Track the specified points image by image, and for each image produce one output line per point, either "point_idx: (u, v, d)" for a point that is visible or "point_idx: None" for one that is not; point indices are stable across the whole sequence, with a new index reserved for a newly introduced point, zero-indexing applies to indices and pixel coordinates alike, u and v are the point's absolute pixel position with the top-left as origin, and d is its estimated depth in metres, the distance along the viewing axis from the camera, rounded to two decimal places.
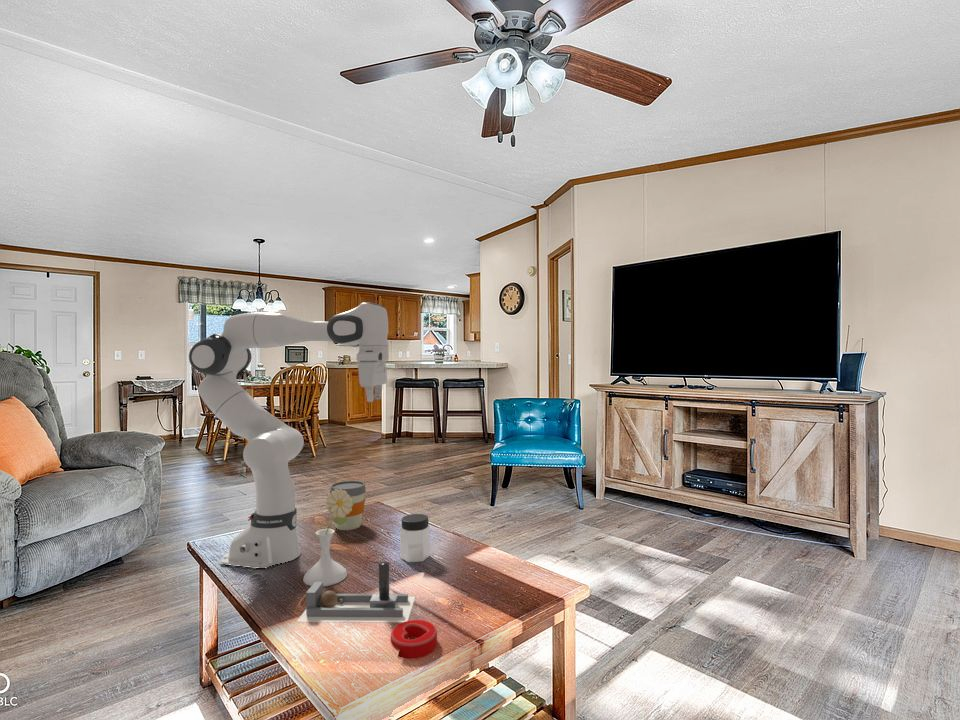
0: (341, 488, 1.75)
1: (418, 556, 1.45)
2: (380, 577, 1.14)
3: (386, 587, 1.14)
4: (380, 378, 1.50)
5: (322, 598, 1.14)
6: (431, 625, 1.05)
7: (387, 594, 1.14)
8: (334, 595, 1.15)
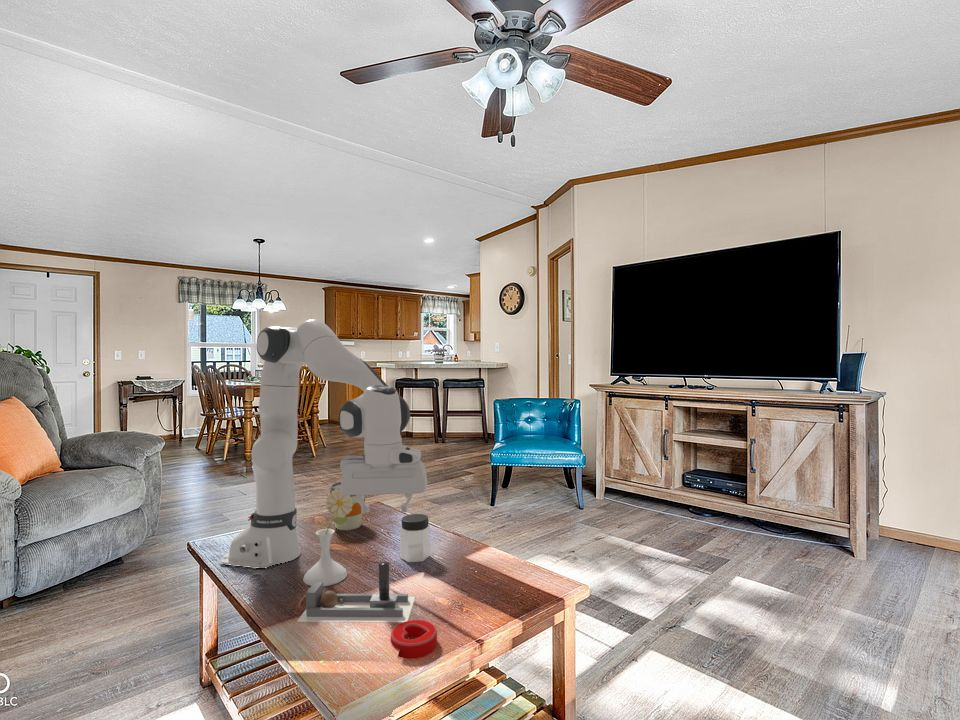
0: None
1: (418, 556, 1.45)
2: (380, 577, 1.14)
3: (386, 587, 1.14)
4: None
5: (322, 598, 1.14)
6: (431, 625, 1.05)
7: (387, 594, 1.14)
8: (334, 595, 1.15)
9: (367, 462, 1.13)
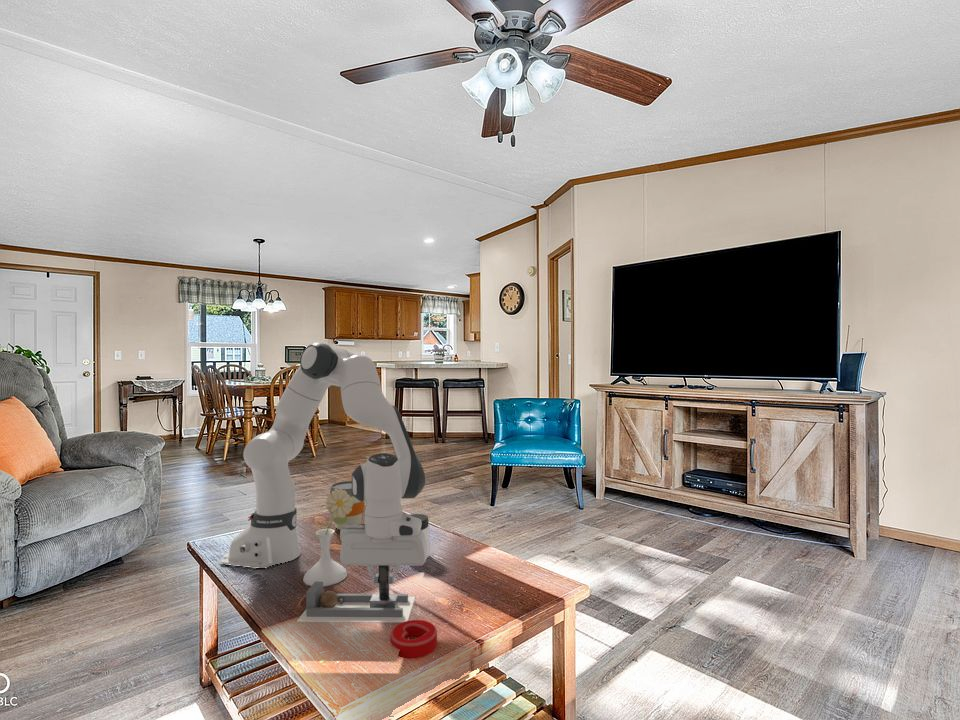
0: (341, 488, 1.75)
1: None
2: (380, 577, 1.14)
3: (385, 587, 1.14)
4: None
5: (322, 598, 1.14)
6: (431, 625, 1.05)
7: (387, 594, 1.14)
8: (334, 595, 1.15)
9: (367, 534, 1.12)
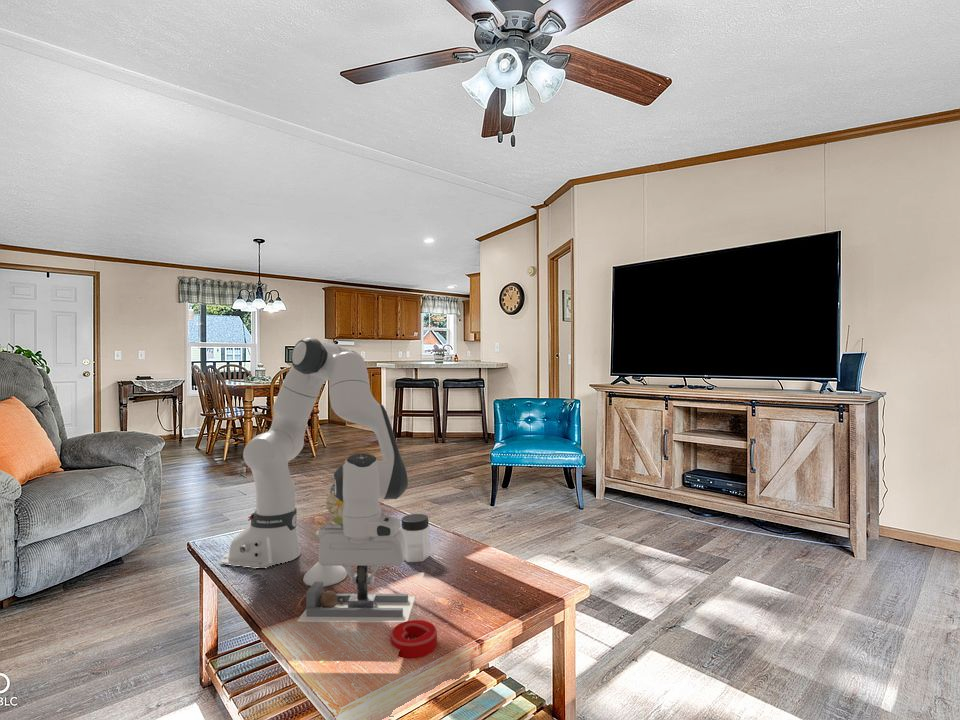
0: None
1: (418, 556, 1.45)
2: (358, 577, 1.14)
3: (364, 587, 1.14)
4: None
5: (322, 598, 1.14)
6: (431, 625, 1.05)
7: (365, 594, 1.15)
8: (334, 595, 1.15)
9: (345, 534, 1.12)
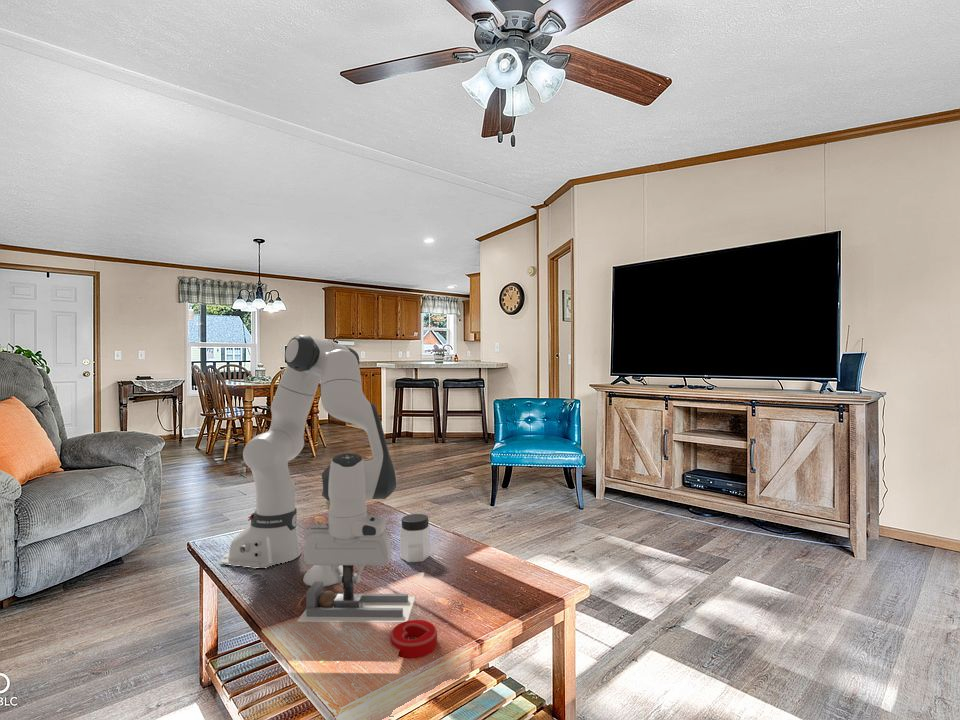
0: None
1: (418, 556, 1.45)
2: (344, 577, 1.14)
3: (349, 587, 1.14)
4: None
5: (320, 599, 1.14)
6: (431, 625, 1.05)
7: (351, 594, 1.15)
8: (332, 594, 1.15)
9: (330, 534, 1.12)
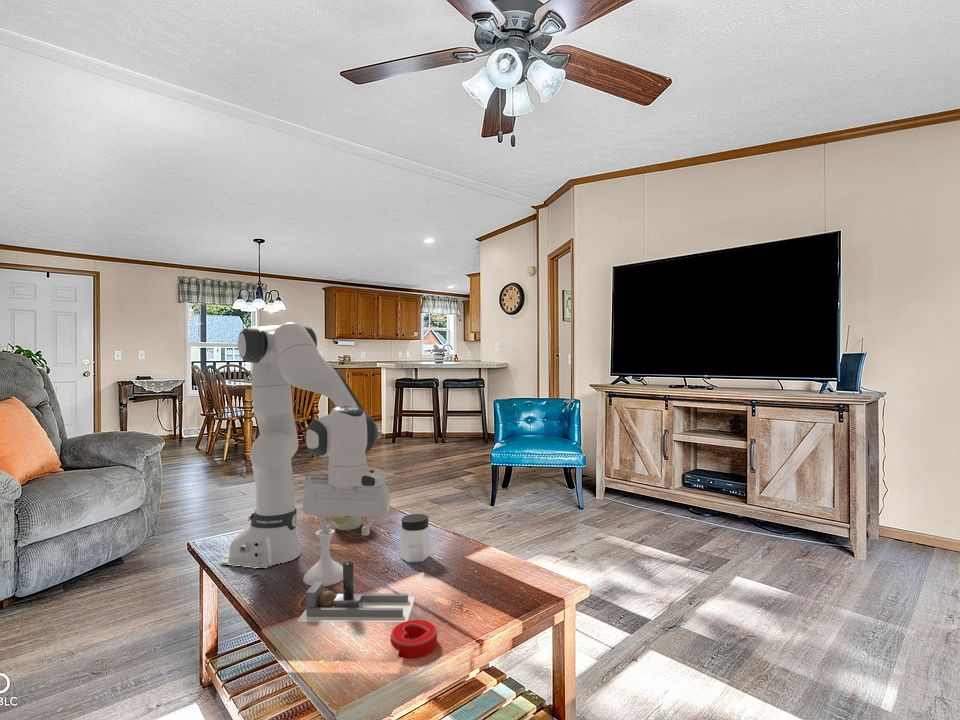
0: None
1: (418, 556, 1.45)
2: (344, 577, 1.14)
3: (349, 587, 1.14)
4: None
5: (320, 599, 1.14)
6: (431, 625, 1.05)
7: (351, 594, 1.15)
8: (332, 594, 1.15)
9: (329, 483, 1.12)
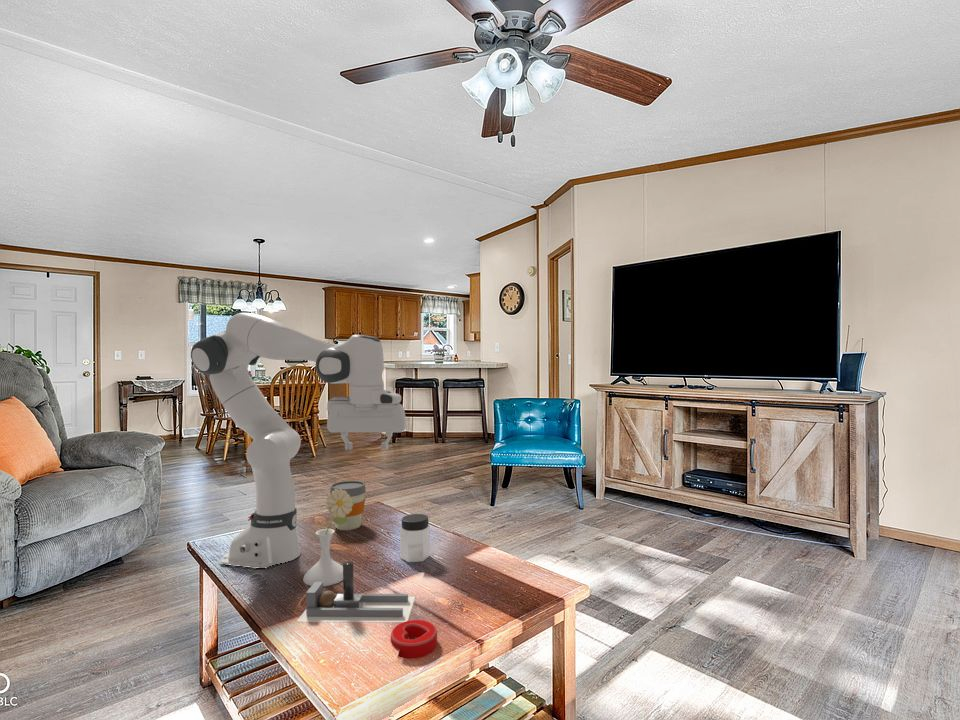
0: (341, 488, 1.75)
1: (418, 556, 1.45)
2: (344, 577, 1.14)
3: (349, 587, 1.14)
4: None
5: (320, 599, 1.14)
6: (431, 625, 1.05)
7: (351, 594, 1.15)
8: (332, 594, 1.15)
9: (351, 402, 1.24)
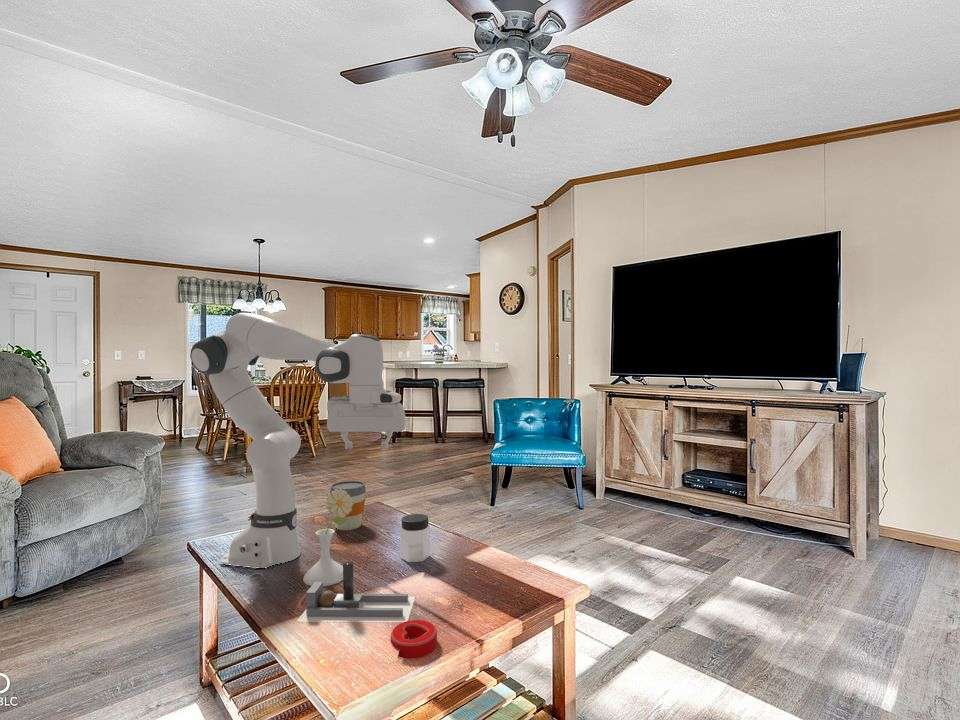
0: (341, 488, 1.75)
1: (418, 556, 1.45)
2: (344, 577, 1.14)
3: (349, 587, 1.14)
4: None
5: (320, 599, 1.14)
6: (431, 625, 1.05)
7: (351, 594, 1.15)
8: (332, 594, 1.15)
9: (351, 401, 1.24)
